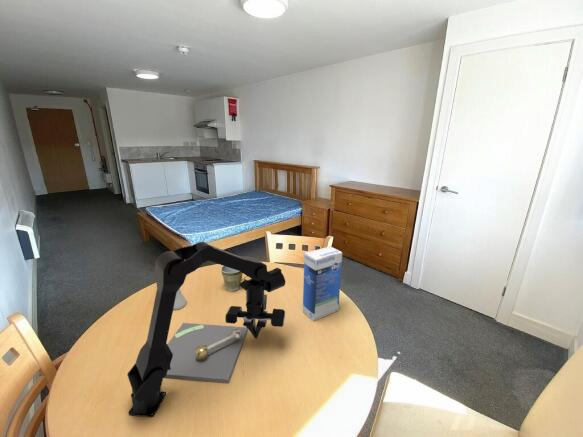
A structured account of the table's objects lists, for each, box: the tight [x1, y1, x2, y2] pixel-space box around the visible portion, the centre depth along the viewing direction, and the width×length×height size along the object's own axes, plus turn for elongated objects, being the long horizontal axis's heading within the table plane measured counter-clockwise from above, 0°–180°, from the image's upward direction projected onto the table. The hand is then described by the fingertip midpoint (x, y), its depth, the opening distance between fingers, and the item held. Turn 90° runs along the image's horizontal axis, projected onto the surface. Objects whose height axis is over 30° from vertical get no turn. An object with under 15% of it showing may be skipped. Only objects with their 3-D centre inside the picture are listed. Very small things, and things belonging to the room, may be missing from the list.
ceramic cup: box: [220, 265, 249, 292], centre depth 122 cm, size 13×10×10 cm
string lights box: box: [302, 246, 343, 322], centre depth 103 cm, size 13×8×26 cm, turn 122°
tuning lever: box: [195, 329, 241, 361], centre depth 84 cm, size 15×4×3 cm, turn 130°
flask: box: [173, 288, 188, 311], centre depth 108 cm, size 7×7×10 cm
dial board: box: [165, 322, 249, 384], centre depth 85 cm, size 22×24×1 cm
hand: (256, 337), depth 88 cm, fingers closed
